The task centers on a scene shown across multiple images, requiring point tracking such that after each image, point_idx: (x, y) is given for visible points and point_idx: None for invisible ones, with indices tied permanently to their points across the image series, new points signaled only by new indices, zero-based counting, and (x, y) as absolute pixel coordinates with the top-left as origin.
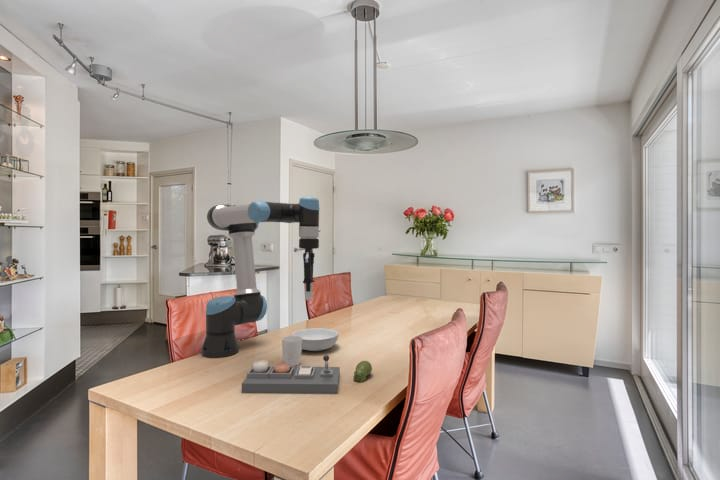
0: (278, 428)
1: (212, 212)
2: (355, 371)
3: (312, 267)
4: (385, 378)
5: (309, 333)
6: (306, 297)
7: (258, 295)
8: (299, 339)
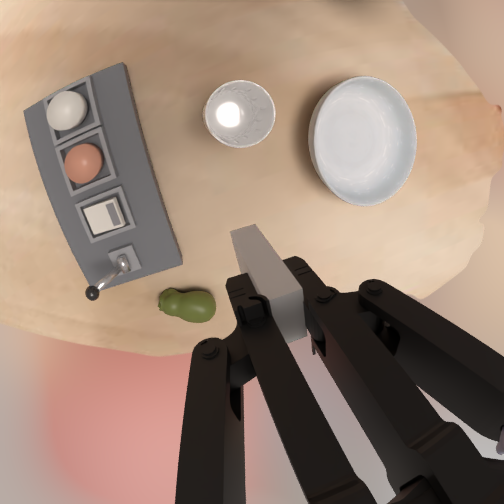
0: None
1: None
2: (167, 302)
3: (434, 397)
4: (196, 330)
5: (400, 115)
6: (235, 249)
7: None
8: (264, 130)
